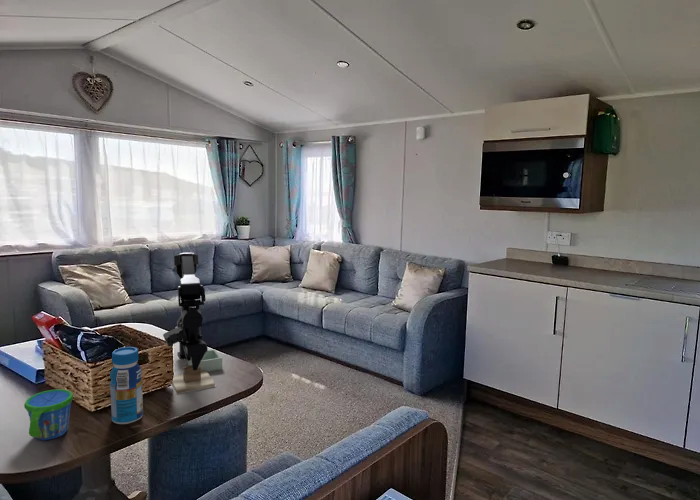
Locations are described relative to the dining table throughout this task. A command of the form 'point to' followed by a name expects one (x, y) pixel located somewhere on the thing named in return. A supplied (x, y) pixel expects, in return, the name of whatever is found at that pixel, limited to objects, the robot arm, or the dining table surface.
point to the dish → (210, 361)
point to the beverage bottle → (126, 386)
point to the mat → (190, 391)
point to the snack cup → (49, 413)
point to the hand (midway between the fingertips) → (191, 365)
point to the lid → (192, 380)
